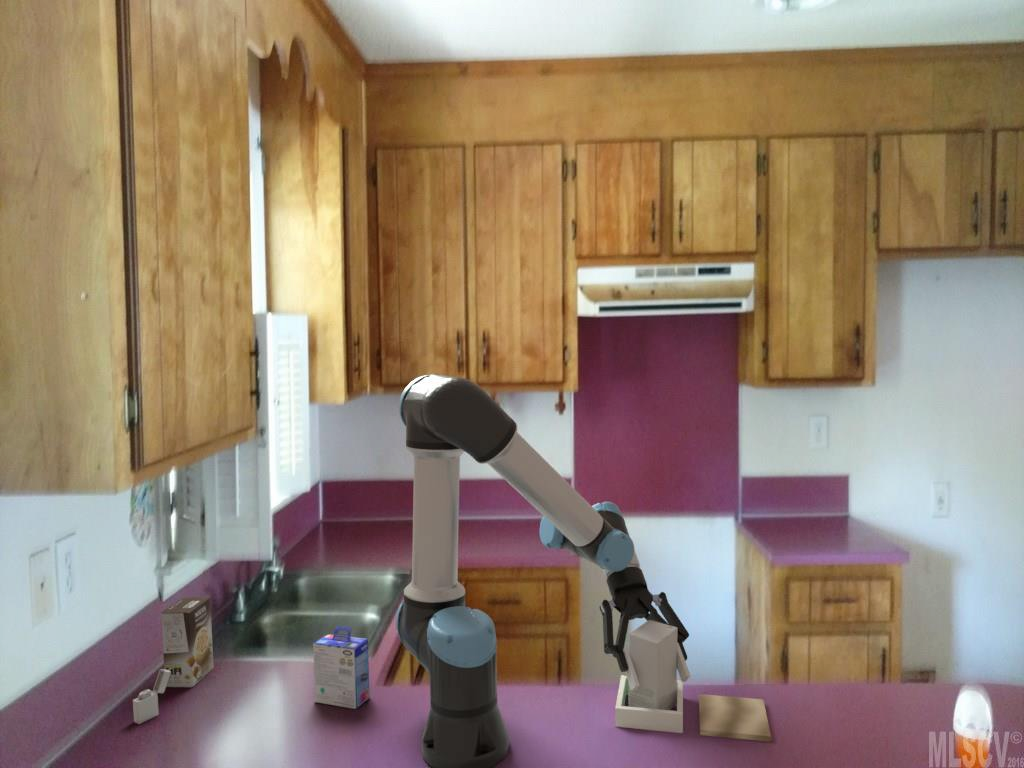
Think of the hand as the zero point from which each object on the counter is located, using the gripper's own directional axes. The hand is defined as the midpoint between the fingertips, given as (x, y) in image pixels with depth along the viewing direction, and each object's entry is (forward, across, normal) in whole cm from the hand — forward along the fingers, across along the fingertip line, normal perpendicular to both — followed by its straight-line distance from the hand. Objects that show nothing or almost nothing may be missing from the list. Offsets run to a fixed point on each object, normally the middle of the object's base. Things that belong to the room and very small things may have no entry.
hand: (661, 683), depth 137 cm
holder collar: (+3, +1, -7) cm, 8 cm away
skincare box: (+3, 0, -7) cm, 7 cm away
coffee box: (-29, +86, -40) cm, 99 cm away
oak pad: (+8, -12, -2) cm, 15 cm away
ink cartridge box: (-14, +56, -24) cm, 63 cm away
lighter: (-19, +91, -29) cm, 98 cm away
